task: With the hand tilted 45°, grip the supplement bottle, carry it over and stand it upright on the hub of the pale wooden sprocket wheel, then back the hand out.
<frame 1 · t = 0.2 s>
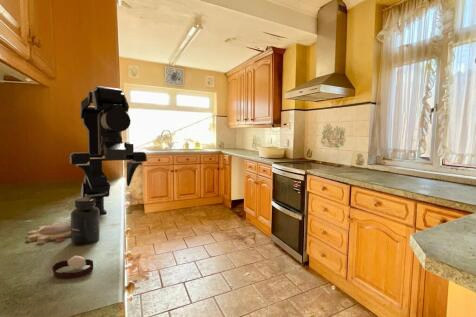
hand: (111, 187, 69), 15 cm above the counter, tool pointing down, fingers open, 9 cm apart
sprocket wheel: (58, 232, 73), on the counter
supplement bottle: (85, 241, 68), on the counter
watch: (73, 275, 52), on the counter
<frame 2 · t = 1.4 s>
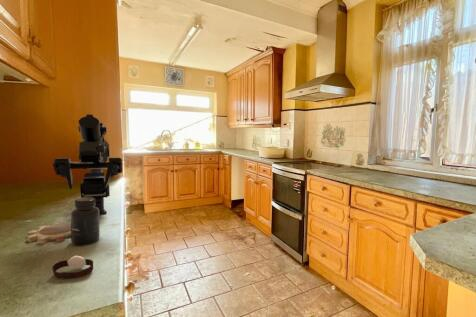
hand: (88, 187, 74), 14 cm above the counter, tool tilted 45°, fingers open, 9 cm apart
nothing on the counter moved.
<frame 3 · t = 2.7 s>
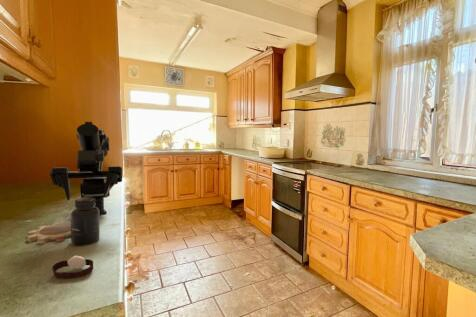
hand: (86, 198, 71), 11 cm above the counter, tool tilted 45°, fingers open, 9 cm apart
nothing on the counter moved.
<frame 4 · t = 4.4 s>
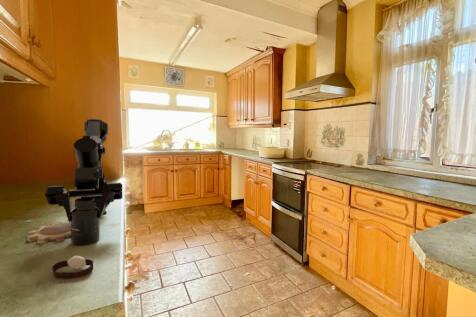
hand: (84, 219, 66), 7 cm above the counter, tool tilted 45°, fingers closed on supplement bottle, 7 cm apart
supplement bottle: (85, 241, 68), on the counter, touching gripper
everything else where it was.
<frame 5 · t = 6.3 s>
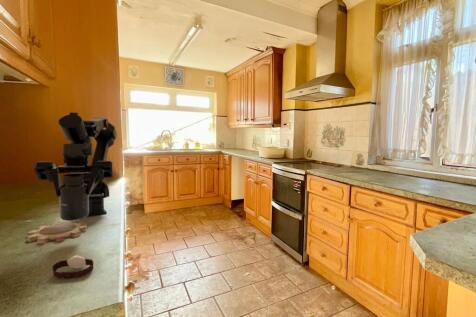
hand: (73, 195, 66), 13 cm above the counter, tool tilted 45°, fingers closed on supplement bottle, 7 cm apart
supplement bottle: (75, 217, 68), point 6 cm above the counter, touching gripper
everything else where it was.
when the fingers open (9 cm above the counter, at t = 8.4 s): supplement bottle drops 1 cm, resting on sprocket wheel.
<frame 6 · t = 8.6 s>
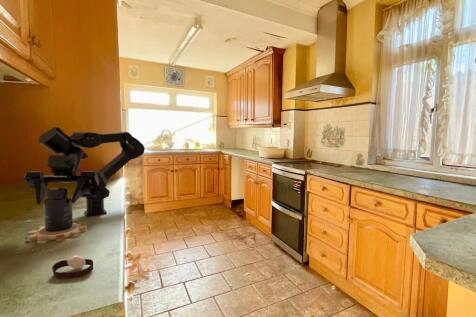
hand: (55, 203, 71), 9 cm above the counter, tool tilted 45°, fingers open, 8 cm apart
supplement bottle: (59, 228, 73), point 1 cm above the counter, touching sprocket wheel
everything else where it was.
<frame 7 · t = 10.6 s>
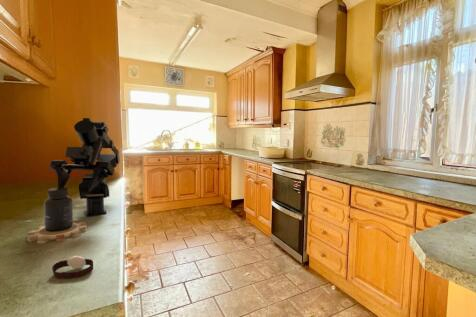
hand: (74, 190, 78), 12 cm above the counter, tool tilted 35°, fingers open, 9 cm apart
nothing on the counter moved.
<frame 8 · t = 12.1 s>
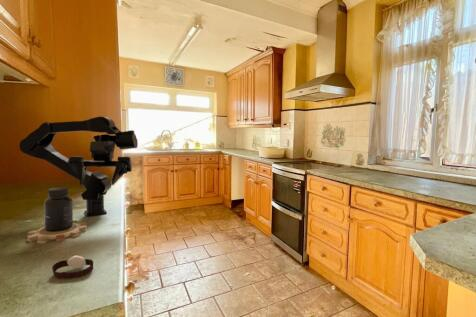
hand: (97, 184, 79), 14 cm above the counter, tool tilted 45°, fingers open, 9 cm apart
nothing on the counter moved.
at the end: supplement bottle 0.2 cm off-centre on the sprocket wheel, point 1.2 cm above the sprocket wheel's base; supplement bottle tilted 0°; the gripper is holding nothing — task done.
